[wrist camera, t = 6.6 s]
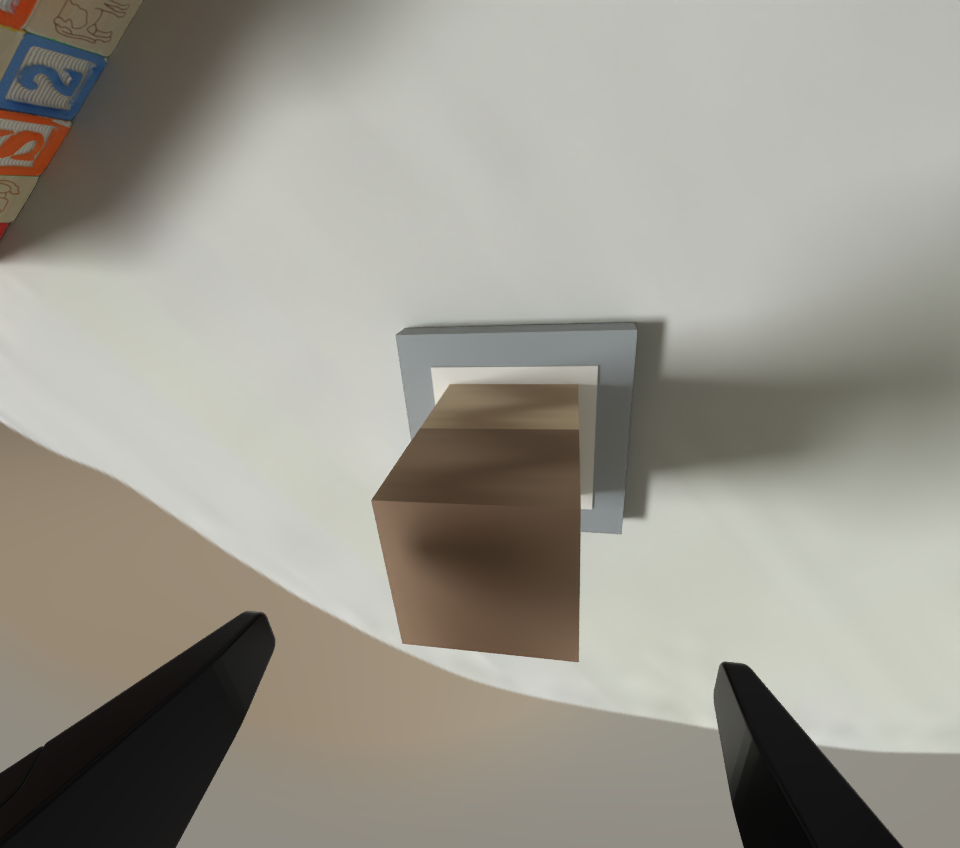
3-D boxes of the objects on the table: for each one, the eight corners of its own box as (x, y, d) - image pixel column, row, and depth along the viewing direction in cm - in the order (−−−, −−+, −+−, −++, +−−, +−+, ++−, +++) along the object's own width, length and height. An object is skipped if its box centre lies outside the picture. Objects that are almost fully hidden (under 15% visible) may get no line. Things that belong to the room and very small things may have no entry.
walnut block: (579, 429, 14) (580, 508, 10) (577, 559, 16) (578, 661, 12) (419, 428, 15) (371, 500, 11) (438, 550, 17) (402, 643, 13)
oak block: (578, 384, 17) (578, 431, 14) (575, 495, 19) (575, 560, 16) (449, 384, 18) (419, 428, 15) (460, 489, 20) (436, 550, 17)
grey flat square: (633, 322, 17) (637, 330, 16) (619, 518, 21) (621, 535, 20) (404, 328, 19) (394, 336, 18) (429, 508, 23) (422, 523, 22)
